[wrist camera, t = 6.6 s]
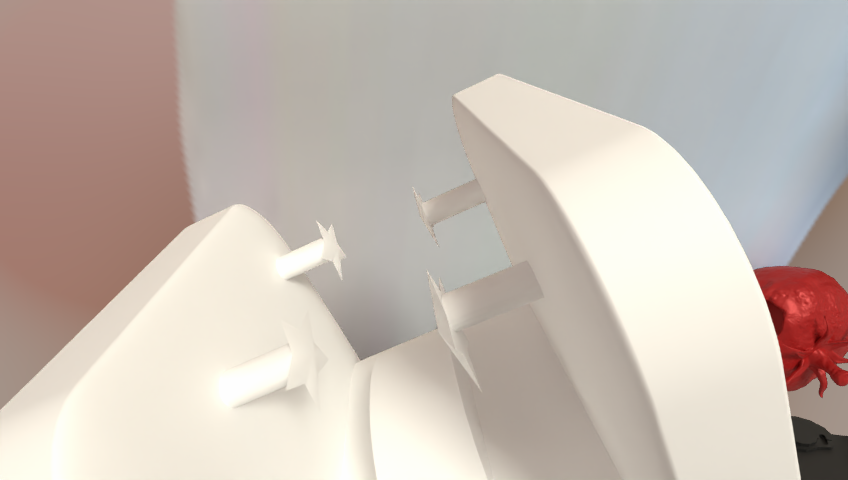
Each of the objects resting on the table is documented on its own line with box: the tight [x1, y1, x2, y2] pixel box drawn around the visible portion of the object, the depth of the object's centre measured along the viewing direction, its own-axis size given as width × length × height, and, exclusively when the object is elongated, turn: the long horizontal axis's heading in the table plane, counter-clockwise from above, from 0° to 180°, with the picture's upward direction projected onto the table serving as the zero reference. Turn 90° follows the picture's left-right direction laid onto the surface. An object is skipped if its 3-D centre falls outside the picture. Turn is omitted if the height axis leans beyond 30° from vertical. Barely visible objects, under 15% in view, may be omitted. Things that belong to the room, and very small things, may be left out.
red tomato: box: [753, 266, 848, 397], centre depth 36 cm, size 10×10×9 cm
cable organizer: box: [0, 74, 801, 480], centre depth 13 cm, size 15×11×12 cm
